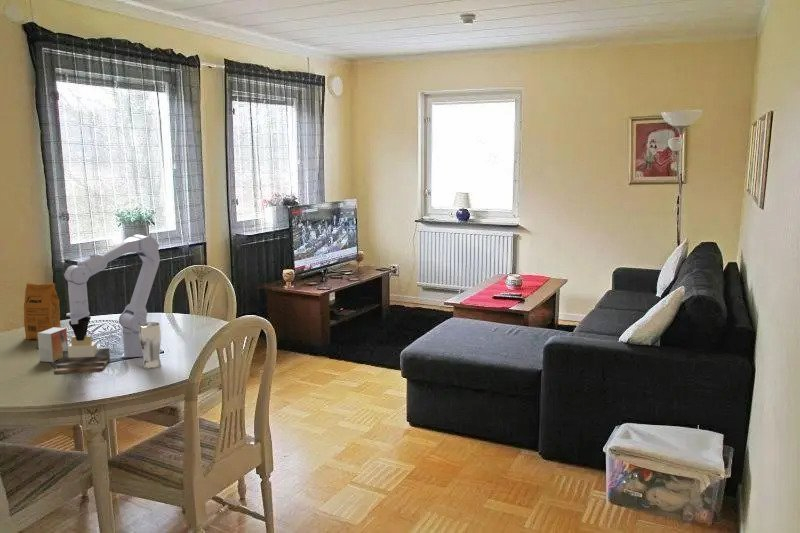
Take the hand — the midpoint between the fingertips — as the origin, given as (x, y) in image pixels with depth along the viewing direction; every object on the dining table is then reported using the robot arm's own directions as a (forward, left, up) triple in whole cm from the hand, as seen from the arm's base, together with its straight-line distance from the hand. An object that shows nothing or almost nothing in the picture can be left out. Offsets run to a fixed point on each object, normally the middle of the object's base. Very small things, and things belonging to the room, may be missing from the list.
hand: (81, 339), depth 219 cm
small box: (+12, -11, -10) cm, 19 cm away
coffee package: (+24, -41, -10) cm, 48 cm away
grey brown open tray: (0, 0, -10) cm, 10 cm away
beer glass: (-23, +4, -10) cm, 25 cm away
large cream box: (0, -1, -6) cm, 6 cm away
